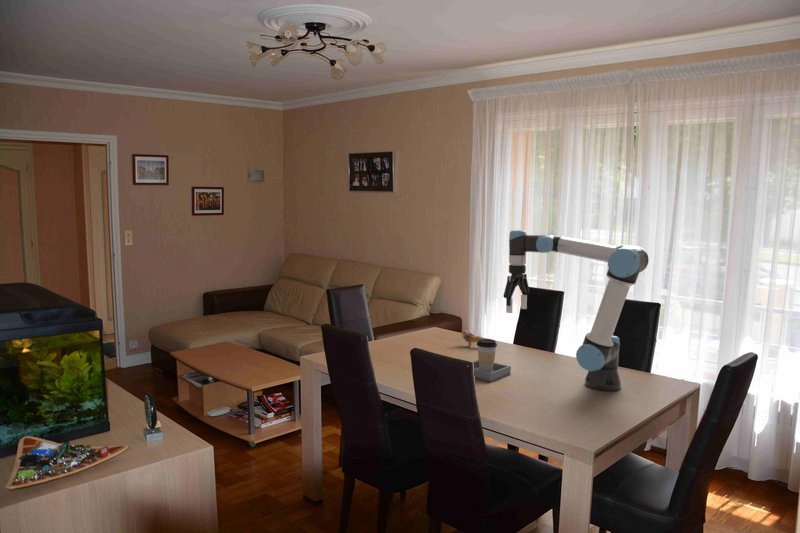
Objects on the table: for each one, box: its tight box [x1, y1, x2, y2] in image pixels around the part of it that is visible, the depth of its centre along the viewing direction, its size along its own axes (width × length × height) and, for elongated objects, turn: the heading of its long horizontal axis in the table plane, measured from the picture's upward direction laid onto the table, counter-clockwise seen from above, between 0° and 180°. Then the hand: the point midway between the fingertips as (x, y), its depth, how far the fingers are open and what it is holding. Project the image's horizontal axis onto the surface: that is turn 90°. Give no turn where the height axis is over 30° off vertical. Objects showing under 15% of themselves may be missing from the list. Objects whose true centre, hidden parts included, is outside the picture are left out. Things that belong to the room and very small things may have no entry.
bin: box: [472, 359, 512, 383], centre depth 280 cm, size 17×17×4 cm
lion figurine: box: [461, 329, 484, 348], centre depth 330 cm, size 15×5×9 cm, turn 67°
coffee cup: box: [476, 338, 498, 373], centre depth 280 cm, size 9×9×15 cm
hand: (516, 310), depth 276 cm, fingers open, 13 cm apart
